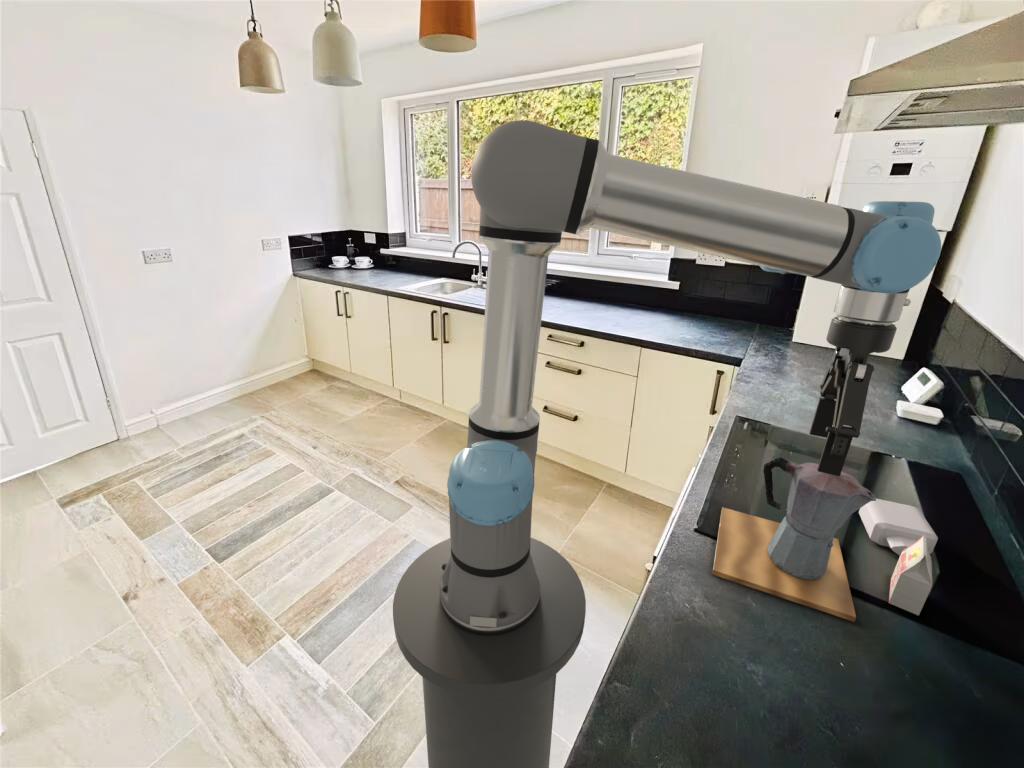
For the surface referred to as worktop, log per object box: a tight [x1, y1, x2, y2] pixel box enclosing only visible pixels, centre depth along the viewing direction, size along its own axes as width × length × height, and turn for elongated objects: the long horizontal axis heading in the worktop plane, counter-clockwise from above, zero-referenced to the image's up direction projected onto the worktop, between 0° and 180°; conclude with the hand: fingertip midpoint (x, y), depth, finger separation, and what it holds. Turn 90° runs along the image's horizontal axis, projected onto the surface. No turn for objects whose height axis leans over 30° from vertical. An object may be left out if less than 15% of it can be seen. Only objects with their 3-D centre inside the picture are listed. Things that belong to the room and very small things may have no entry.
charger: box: [858, 498, 939, 559], centre depth 84 cm, size 5×9×15 cm
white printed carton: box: [888, 535, 933, 617], centre depth 72 cm, size 4×7×10 cm, turn 140°
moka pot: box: [763, 456, 877, 580], centre depth 76 cm, size 10×15×20 cm, turn 53°
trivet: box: [711, 506, 857, 623], centre depth 81 cm, size 20×20×1 cm
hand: (823, 452), depth 72 cm, fingers open, 13 cm apart
